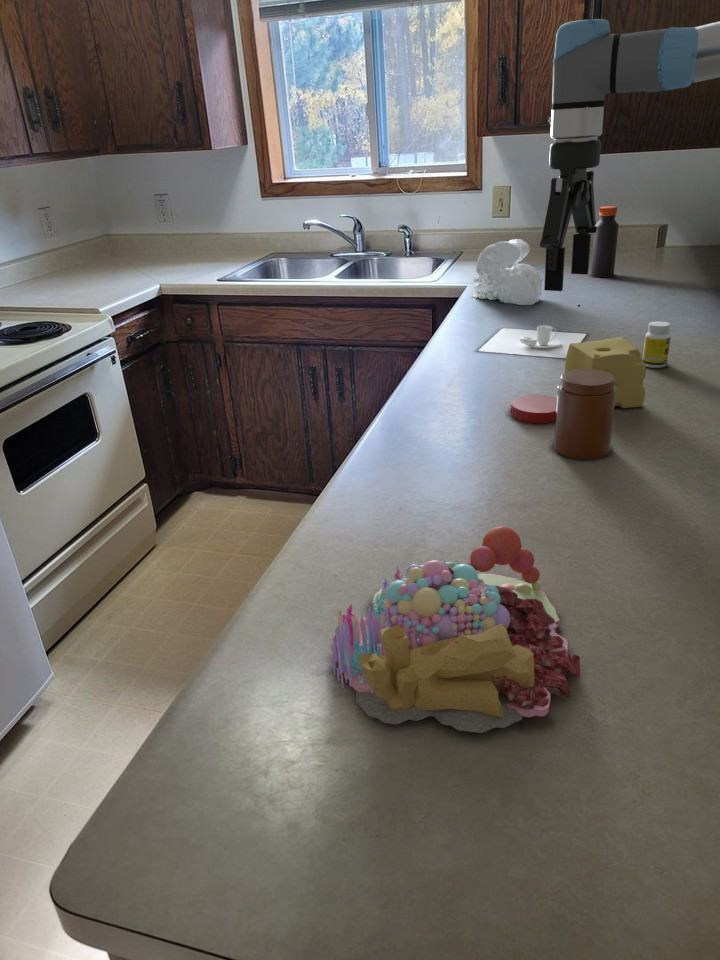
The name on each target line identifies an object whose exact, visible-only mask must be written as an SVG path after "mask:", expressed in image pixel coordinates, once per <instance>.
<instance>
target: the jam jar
mask: <svg viewBox="0 0 720 960" xmlns="http://www.w3.org/2000/svg"><path fill="white" fill-rule="evenodd" d="M556 398H557V407H556V421H555V422H554V423H555V424H554V436H553V437H554V438H553V449H554V450H555V452H556V453H558V454H560V455H562V456H563V457H568V458H570V459H572V458H573V459H576V460H577V459H578V460H594V459H599V458H600V459H601V458H603V457H605V456H607V455H608V454H609V453H610V451H611V442H612V434H613V424H614V414H615V407H616V406H615V398H616V386H615V377H614V376H613V375H612V374H610V373H608V372H605V371H601V370H594V369H576V370H571V371H567V372H565V371H564V372H563V373H562V374H561V375H560V383H559V384H558V385H557V396H556Z"/></svg>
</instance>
